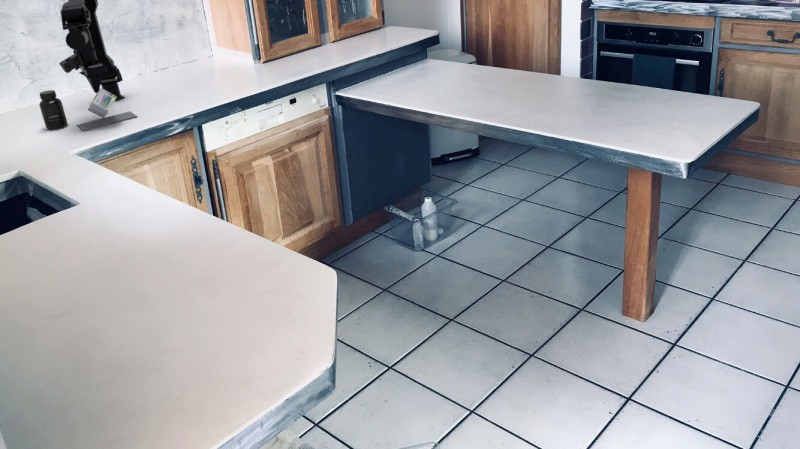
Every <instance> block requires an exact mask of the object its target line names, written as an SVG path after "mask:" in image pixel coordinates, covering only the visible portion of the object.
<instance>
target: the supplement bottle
mask: <svg viewBox="0 0 800 449" xmlns="http://www.w3.org/2000/svg"><path fill="white" fill-rule="evenodd" d="M38 94H39V98H40V102H39V109H40V112H41V115H42V119H43V122H44V125H45V128H46V130H50V131H52V130H53V131H55V130H60V129H63V128H66V127H67V126H68V125H69V124H68V119H67V116H66V113H65V109H64V105H63V102H62V100H61V98H59V97H57V94H56V91H55V90H53V89H50V90H44V91H42V92H41V91H40V92H39V93H38Z"/></svg>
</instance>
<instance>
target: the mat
mask: <svg viewBox="0 0 800 449" xmlns="http://www.w3.org/2000/svg"><path fill="white" fill-rule="evenodd" d="M137 118H138V115H137V114H135V113H133V112H131V110H129V111H126V112H122V113H118V114H113V115H110V116H105V117H104V118H102V117H100V118H98V119H94V120H90V121H85V122H82V123H79V124H78V123H77V124H76V127H77V128H78V129H79V130H80V131H82V132H86V131H87V132H88V131H90V130H93V129H94V130H95V129H97V128H102V127H106V126H109V125H114V124H116V123H121V122H125V121H129V120H132V119H137Z"/></svg>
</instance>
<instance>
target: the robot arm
mask: <svg viewBox="0 0 800 449" xmlns="http://www.w3.org/2000/svg"><path fill="white" fill-rule="evenodd" d="M98 1H99V0H67V1H66V2H64V3H63V5H62V6H61V9H60V17H61V18H60V19H61V24H62V30H63V31H66V30H68V33H67V34H66V35H65V36H66V37H65V43H66V45H67V47H69V48H70V49H72V52H73V54H72V55H70V56H68V57H67V58H65V59H63V60H62V61H60V62H59V63H58V65H59V66H60V67H61V69H62V70H63V71H64V72H65V74H68V73H71V72H72V71H73V70H74V71H78V70H79V69H80V70H81V71H79V74H80V75H82V76H84V78H86V79H87V81H88V83H89V85H90V88H91V89H92V91H93V92H94V93H95V94H97V93H98V91H99V90H100V88H102V89H104V90H106V91H108V92H110V93H111V94H113V95H115V96H117V98H116V100H115V101H118V100H122V99H124V98H125V96H124V95H122V94H121V90H120V87H119V83H121V82H122V81H123V77H122V73H121V71H120V69H119V68H118V66H117V65H116V64H115V62H114V59H113V58H112V57H111V56H109V55H108V53H107V49H106V46H105V41H104V38H103V35H102V34H103V33H102V31H101V27H100V24H99V20H98V16H97V10H98V7H99V2H98Z"/></svg>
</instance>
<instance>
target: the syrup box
mask: <svg viewBox="0 0 800 449" xmlns="http://www.w3.org/2000/svg"><path fill="white" fill-rule="evenodd" d="M116 98H117V96H115V95H113V94H111V93H110V92H108V91H106V90H104V89H102V87H100V90H99V91H98V93H95V96H94V98H93V99H92V101H91V103H90V104H89V106H88V108H87V111H88V112H91V113H92V114H94V115H95V116H98V117H100V118H105V117H107V115H108V113H109V112H110V110H111V108H112V107H113V105H114V103H115V101H117V100H116Z"/></svg>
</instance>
